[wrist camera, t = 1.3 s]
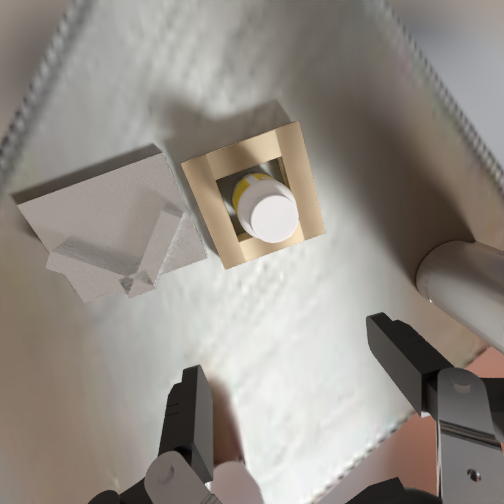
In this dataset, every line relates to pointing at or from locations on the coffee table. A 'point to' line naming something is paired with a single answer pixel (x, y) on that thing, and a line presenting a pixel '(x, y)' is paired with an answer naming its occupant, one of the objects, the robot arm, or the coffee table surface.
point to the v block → (117, 229)
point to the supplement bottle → (265, 207)
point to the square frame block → (243, 157)
